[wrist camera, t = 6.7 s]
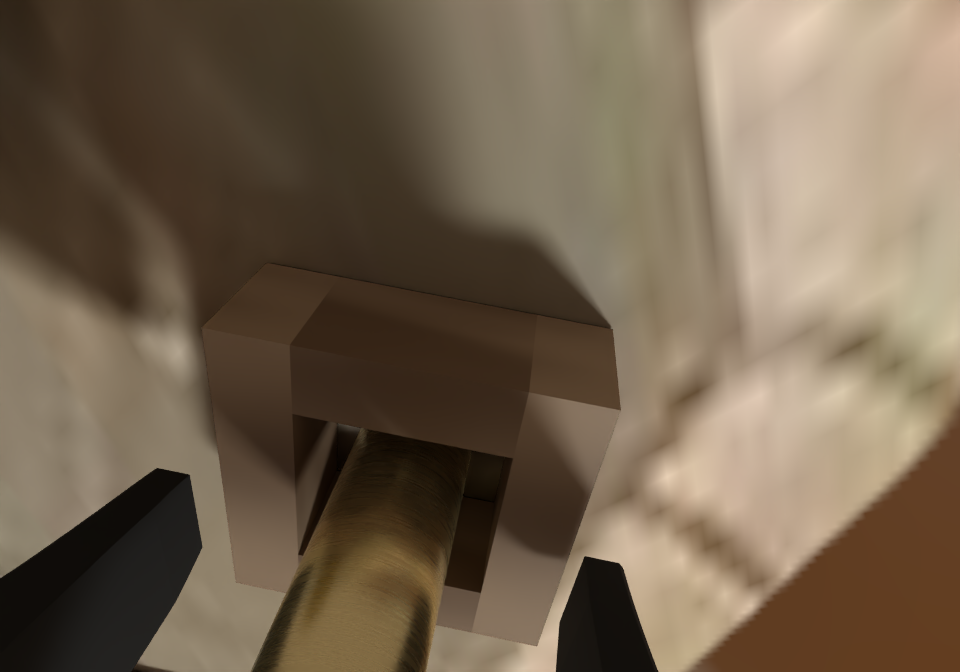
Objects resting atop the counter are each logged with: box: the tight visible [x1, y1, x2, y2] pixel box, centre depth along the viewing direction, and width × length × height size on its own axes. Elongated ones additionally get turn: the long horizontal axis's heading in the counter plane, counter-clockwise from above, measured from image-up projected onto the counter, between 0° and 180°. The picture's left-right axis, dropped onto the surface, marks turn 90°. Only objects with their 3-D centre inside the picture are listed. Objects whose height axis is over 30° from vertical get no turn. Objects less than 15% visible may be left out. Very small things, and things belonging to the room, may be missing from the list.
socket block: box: [202, 263, 621, 646], centre depth 13 cm, size 7×7×2 cm
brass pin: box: [251, 428, 472, 672], centre depth 10 cm, size 2×2×8 cm
